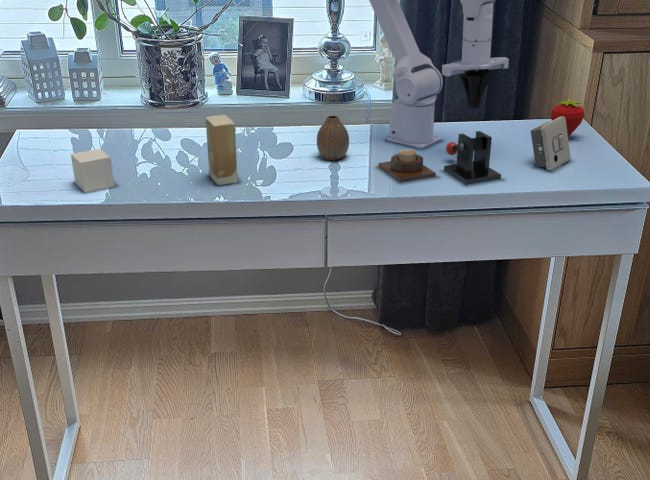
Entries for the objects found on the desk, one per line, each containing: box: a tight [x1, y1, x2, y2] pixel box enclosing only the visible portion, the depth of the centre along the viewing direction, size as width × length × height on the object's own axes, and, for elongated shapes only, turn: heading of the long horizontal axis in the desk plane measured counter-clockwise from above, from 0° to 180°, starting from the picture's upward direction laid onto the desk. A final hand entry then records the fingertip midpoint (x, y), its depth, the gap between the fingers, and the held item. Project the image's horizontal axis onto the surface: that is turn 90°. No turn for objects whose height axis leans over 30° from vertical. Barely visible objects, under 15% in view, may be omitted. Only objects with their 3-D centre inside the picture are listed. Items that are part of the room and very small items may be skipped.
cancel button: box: [397, 148, 417, 162], centre depth 183 cm, size 4×4×2 cm
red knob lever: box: [445, 137, 483, 156], centre depth 184 cm, size 12×3×3 cm, turn 24°
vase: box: [316, 114, 350, 161], centre depth 190 cm, size 7×7×9 cm
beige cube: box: [70, 148, 115, 193], centre depth 177 cm, size 6×6×6 cm
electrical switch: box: [530, 117, 571, 171], centre depth 187 cm, size 9×5×9 cm, turn 141°
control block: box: [378, 153, 437, 183], centre depth 184 cm, size 10×8×3 cm
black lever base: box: [443, 130, 502, 186], centre depth 181 cm, size 9×8×8 cm
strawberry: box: [549, 92, 585, 138], centre depth 201 cm, size 6×8×10 cm
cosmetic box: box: [205, 114, 239, 186], centre depth 178 cm, size 6×4×12 cm
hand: (473, 107), depth 188 cm, fingers closed
